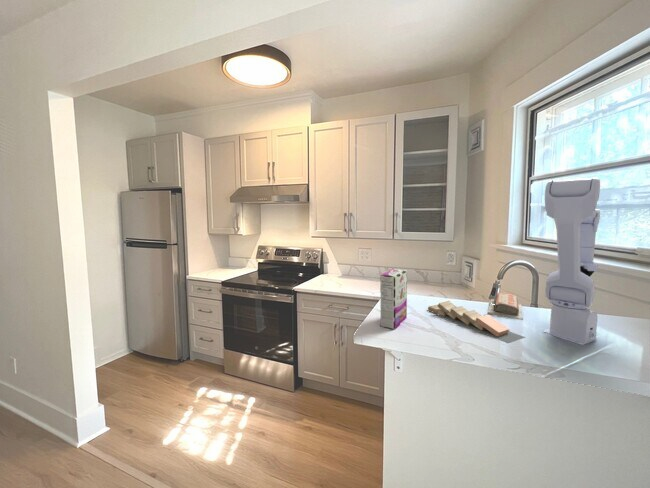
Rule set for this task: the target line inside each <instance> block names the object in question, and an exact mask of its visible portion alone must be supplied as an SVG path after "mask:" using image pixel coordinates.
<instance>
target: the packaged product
mask: <svg viewBox="0 0 650 488" xmlns="http://www.w3.org/2000/svg"><path fill="white" fill-rule="evenodd" d="M490 303H492V304H495V305H492V304H490ZM487 310H488V311H487V315H490V316H491V315H493V316H497V317H503V318H510V319H516V320H523V319H524V317H523V309H522V303H519V301H518V296H517V295H514V294H512V293H504V292H497V293H496V296H495V299H494V298H491V299H490V302H489V306H488V309H487Z"/></svg>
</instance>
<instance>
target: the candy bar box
mask: <svg viewBox="0 0 650 488" xmlns="http://www.w3.org/2000/svg"><path fill="white" fill-rule="evenodd" d="M407 275H408V270H407V269H401V268H392V269H391V270H389V271H386V272H384V273H382V274H380V276H379V277H380V327H381V328H386V329H390V330H396V329H397V328H398V327H399V326H400V325H401V324H402V323H403V322H404V321H405V320H406V319H407V309H408V305H407V304H408V303H407V299H408V297H407V296H408V283H407V282H408V276H407Z"/></svg>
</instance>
